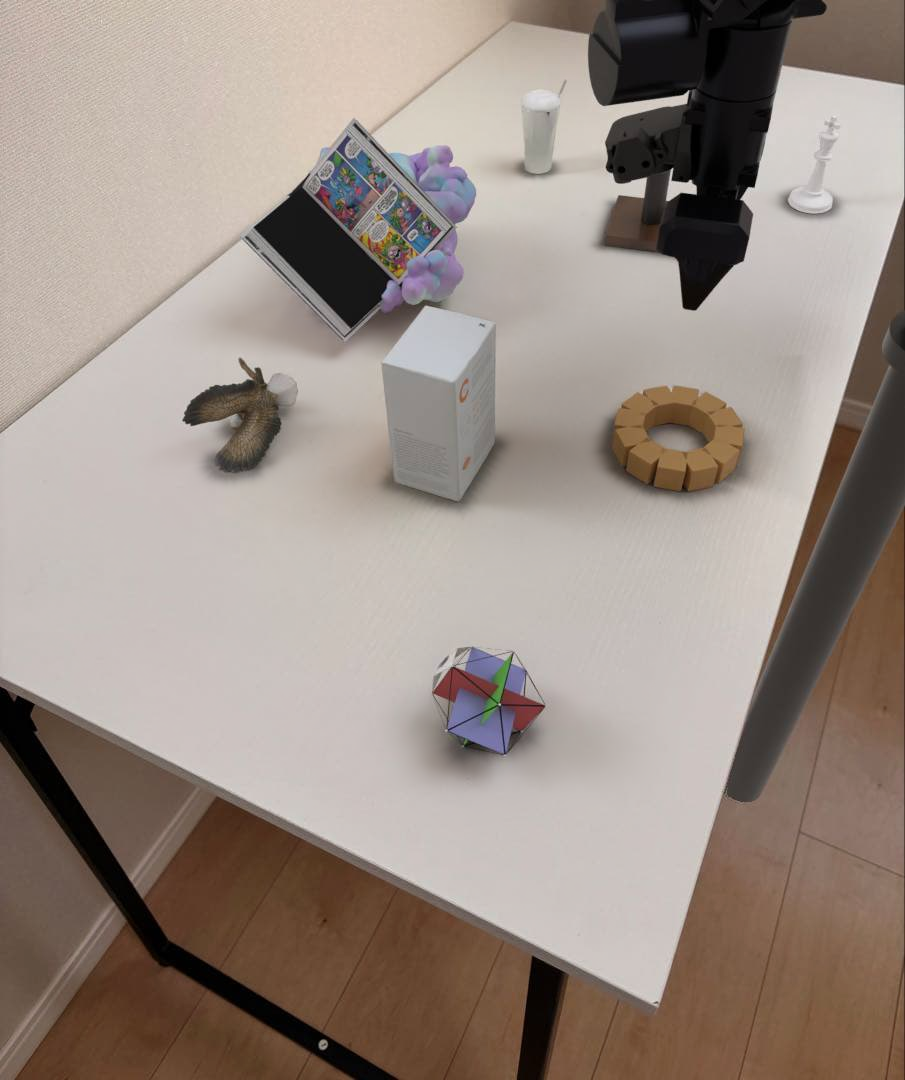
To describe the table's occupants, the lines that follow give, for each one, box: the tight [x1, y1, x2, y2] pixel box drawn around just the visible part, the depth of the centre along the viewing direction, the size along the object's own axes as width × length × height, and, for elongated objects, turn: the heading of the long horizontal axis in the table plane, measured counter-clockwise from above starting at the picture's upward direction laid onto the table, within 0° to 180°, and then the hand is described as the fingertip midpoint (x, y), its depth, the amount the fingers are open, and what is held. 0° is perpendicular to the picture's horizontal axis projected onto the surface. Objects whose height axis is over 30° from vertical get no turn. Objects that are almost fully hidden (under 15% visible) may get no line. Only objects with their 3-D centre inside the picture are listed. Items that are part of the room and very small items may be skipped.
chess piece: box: [787, 115, 841, 215], centre depth 105 cm, size 5×5×10 cm
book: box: [239, 117, 477, 343], centre depth 94 cm, size 20×22×18 cm
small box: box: [380, 305, 497, 502], centre depth 77 cm, size 8×6×13 cm
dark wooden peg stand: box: [603, 169, 672, 253], centre depth 103 cm, size 9×9×7 cm
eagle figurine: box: [182, 357, 299, 473], centre depth 82 cm, size 8×7×9 cm
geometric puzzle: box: [430, 645, 548, 758], centre depth 62 cm, size 7×7×8 cm
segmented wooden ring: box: [611, 384, 745, 493], centre depth 81 cm, size 11×11×2 cm
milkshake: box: [520, 79, 567, 175], centre depth 112 cm, size 5×5×10 cm
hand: (696, 277), depth 78 cm, fingers open, 9 cm apart
